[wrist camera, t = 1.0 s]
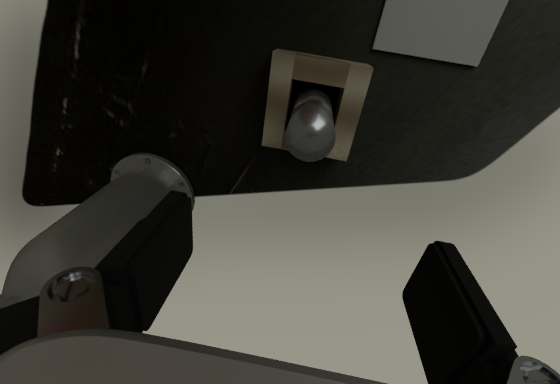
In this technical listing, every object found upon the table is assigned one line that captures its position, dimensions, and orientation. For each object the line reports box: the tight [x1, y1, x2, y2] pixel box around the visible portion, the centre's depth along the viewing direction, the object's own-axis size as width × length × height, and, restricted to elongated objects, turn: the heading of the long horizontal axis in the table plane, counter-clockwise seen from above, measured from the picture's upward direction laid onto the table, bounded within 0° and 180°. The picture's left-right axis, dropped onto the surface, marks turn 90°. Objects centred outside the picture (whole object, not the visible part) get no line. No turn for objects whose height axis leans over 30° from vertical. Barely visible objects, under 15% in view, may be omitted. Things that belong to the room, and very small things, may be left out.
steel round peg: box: [285, 84, 336, 162], centre depth 28 cm, size 4×4×13 cm
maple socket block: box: [262, 49, 374, 161], centre depth 32 cm, size 10×10×4 cm
